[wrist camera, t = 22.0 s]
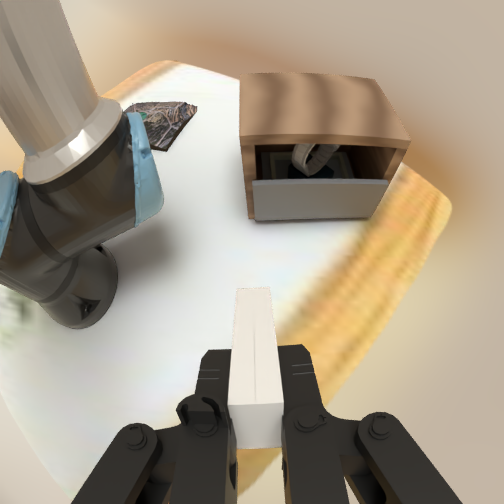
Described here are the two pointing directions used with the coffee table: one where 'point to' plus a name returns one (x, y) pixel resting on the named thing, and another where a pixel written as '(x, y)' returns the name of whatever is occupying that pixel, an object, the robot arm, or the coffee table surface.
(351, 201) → the drawer tray
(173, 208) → the coffee table surface
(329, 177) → the watch
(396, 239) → the coffee table surface
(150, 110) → the terrain model
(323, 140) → the watch cabinet
